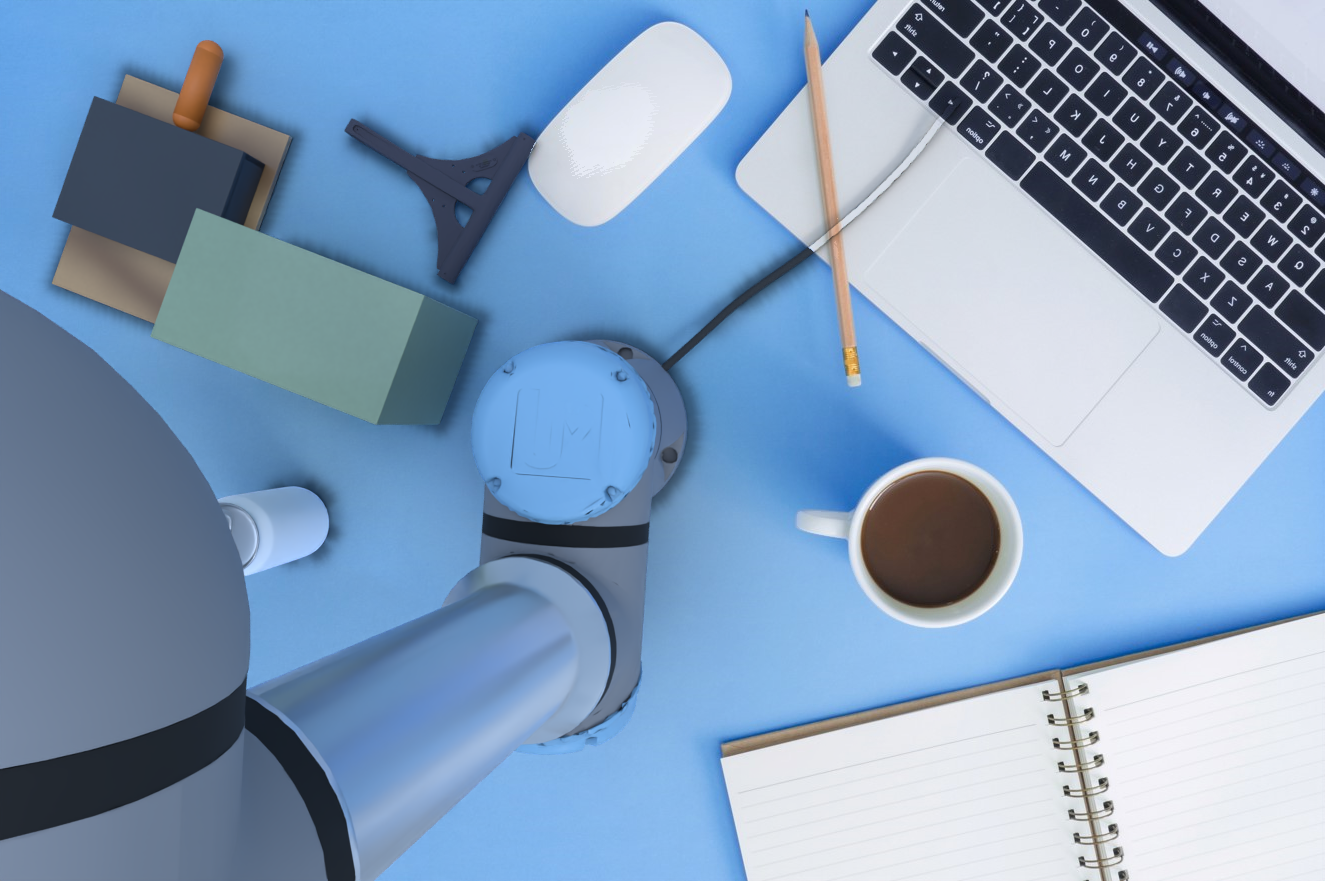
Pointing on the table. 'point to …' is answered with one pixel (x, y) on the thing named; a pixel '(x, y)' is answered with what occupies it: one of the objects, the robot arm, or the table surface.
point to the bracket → (455, 189)
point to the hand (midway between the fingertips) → (103, 409)
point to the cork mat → (133, 273)
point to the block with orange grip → (156, 169)
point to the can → (275, 526)
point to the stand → (312, 325)
